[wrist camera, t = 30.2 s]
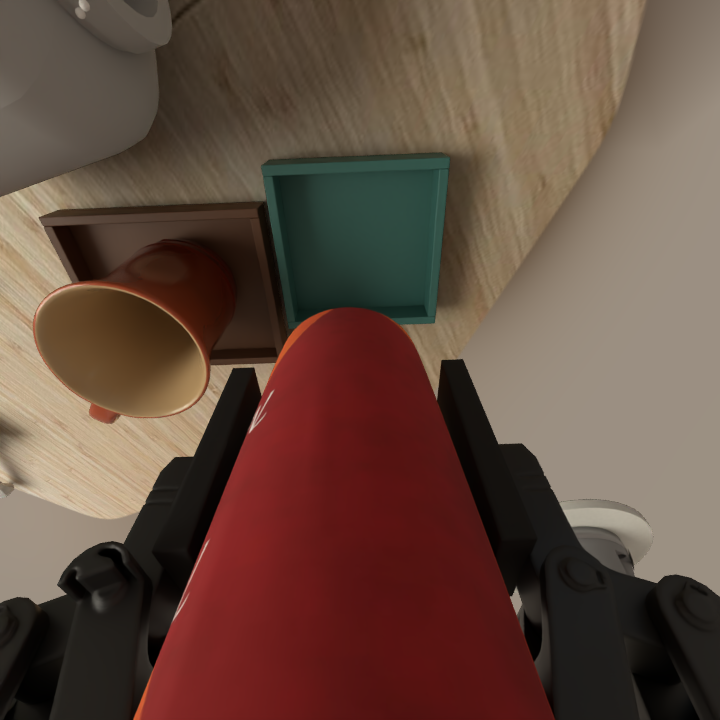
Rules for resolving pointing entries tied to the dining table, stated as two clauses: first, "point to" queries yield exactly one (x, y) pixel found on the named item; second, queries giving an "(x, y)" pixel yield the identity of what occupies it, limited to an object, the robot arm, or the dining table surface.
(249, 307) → the walnut tray
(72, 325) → the mug
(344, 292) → the teal tray
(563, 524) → the robot arm
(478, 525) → the paper cup
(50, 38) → the jar
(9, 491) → the grey tree figurine
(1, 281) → the dining table surface
